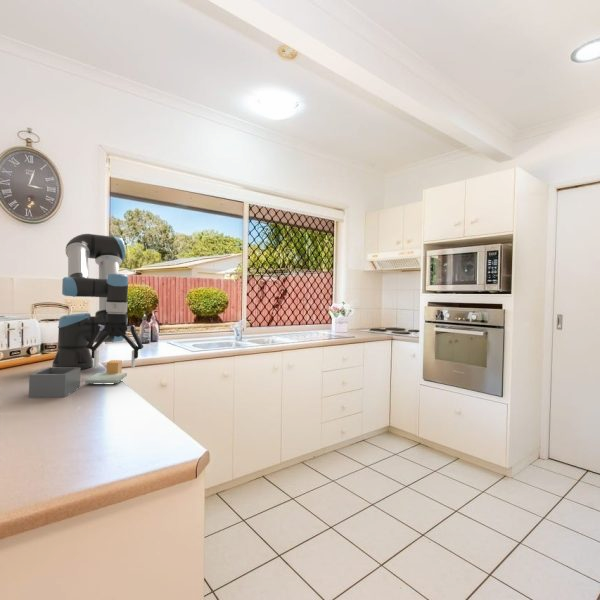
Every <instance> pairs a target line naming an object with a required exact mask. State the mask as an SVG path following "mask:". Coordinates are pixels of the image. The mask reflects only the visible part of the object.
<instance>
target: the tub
mask: <svg viewBox="0 0 600 600" xmlns="http://www.w3.org/2000/svg"><path fill="white" fill-rule="evenodd" d="M81 370H82V369H81V367H51V366H49V367H45V368H43V369H40V370H38V371H36V372H33V373H31V374H29V379H28V398H29V397H38V398H65V396H66V397H67V396H69V395H70V394H69V393H71V392H72V393H74V392H75V391H77V390H78V389H80V388H81ZM79 387H80V388H79ZM77 388H78V389H77ZM76 389H77V390H76ZM74 390H75V391H74ZM73 391H74V392H73ZM72 393H71V394H72ZM68 394H69V395H68Z"/></svg>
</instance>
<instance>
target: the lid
mask: <svg viewBox="0 0 600 600" xmlns="http://www.w3.org/2000/svg"><path fill="white" fill-rule="evenodd" d="M122 364H123V361H122V359H119V360H118V359H114V360H113V359H112V360H109V361H108V362H106V372H97V373H95V374H93V375H92V376H90V377H88V378H86V379H85V381H84V383H85V384H92V383H115V384H118V383H119V382H121V381H122V380H123V379H124V378H126V377H127V376H128V372H122V370H123V369H122V366H123V365H122Z"/></svg>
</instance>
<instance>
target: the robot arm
mask: <svg viewBox="0 0 600 600" xmlns="http://www.w3.org/2000/svg"><path fill="white" fill-rule="evenodd" d="M65 255H66V257H67V276H65V277H63V278H62V285H61V286H62V288H61V289H62V290H61V291H62V292H61V293H62V295H63V296H65V297H73V298H75V297H76V298H77V297H81V298H82V297H85V298H86V297H87V298H98V305H99V306H98V310H97V311H95V314H94V315H95V316H91V313H90V312H87V313H86V312H85V313H75V314H74V313H72V314H65V315H62V316H60V317H59V318H58V326H57V328H58V333H57V337H58V339H57V351H56V354H55V356H54V359H53V361H52V364H51V365H52V367H81V370H85V369H84V368H87V369H90V368H89V367H91V368H97V367H99V357H100V349H98V348H99V347H101V345H102V344H103V343H117V342H122V341H123V340H125V342H127V344H128V345H130V347H131V348H132V350H131V364H130V365H131V368H135V367H136V359H138V358H139V350H142V349H143V348H144V345H143V343H142V341H141V339H140V337H139V335H138V332H137V330H136V325H134V324H133V325H128V314H127V313H128V297H129V296H128V295H129V276H128V275H127V274H124V273H123V274H121V273H120V267H119V266H121V265H122V264H123V261H125V260H126V246H125V242H124V240H123V238H121V237H119V236H114V235H111V236H110V235H109V236H108V235H103V234H102V235H100V234H94V233H93V234H92V233H83V234H79V235H76V236H75V237H73V238H71V239H70V240H69V241H68V242H67V244H66V245H65ZM89 259H94V260H95V261H94V262H95V264H97V265H98V278H93V277H91V278H90V271H89V270H90V269H89ZM128 330H129V332H131V335H132V336H133V337H132V338H133V340H132V338H131V337H130V336H129V335H128V333H127V331H128ZM134 341H135V342H134ZM94 343H95V344H94ZM90 350H91V351H90ZM92 366H93V367H92Z"/></svg>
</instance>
